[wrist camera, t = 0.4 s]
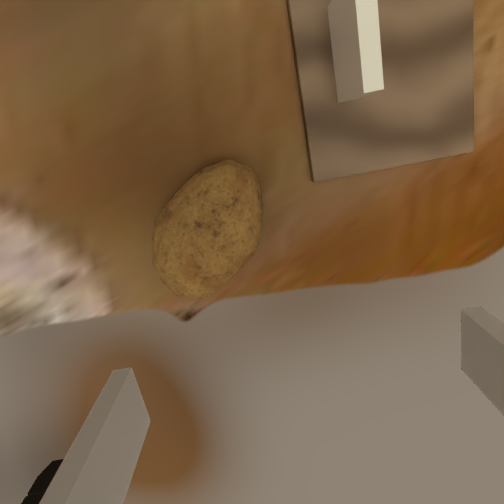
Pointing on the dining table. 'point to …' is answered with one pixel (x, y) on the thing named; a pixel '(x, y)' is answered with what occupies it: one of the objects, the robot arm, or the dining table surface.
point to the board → (388, 88)
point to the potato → (208, 229)
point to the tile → (355, 48)
